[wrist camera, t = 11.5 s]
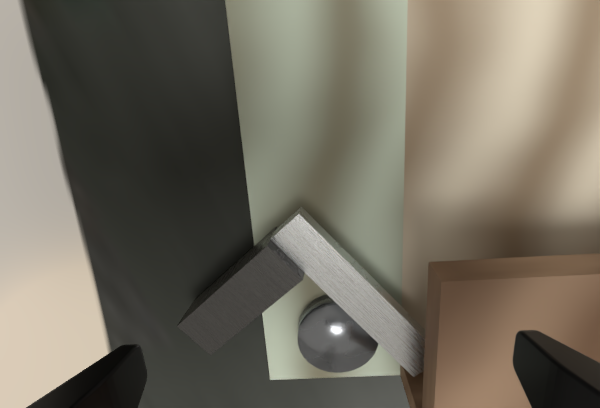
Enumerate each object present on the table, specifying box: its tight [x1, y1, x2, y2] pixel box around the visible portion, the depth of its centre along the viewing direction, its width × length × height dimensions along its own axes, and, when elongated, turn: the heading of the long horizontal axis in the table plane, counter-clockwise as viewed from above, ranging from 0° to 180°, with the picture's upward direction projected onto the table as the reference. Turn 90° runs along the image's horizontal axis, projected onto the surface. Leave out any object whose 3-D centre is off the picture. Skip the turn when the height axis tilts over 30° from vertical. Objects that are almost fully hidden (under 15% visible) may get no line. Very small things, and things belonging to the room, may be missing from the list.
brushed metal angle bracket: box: [177, 207, 426, 377], centre depth 20 cm, size 2×11×9 cm
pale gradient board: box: [225, 0, 600, 408], centre depth 17 cm, size 22×23×7 cm
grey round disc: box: [298, 295, 378, 373], centre depth 21 cm, size 4×4×1 cm
